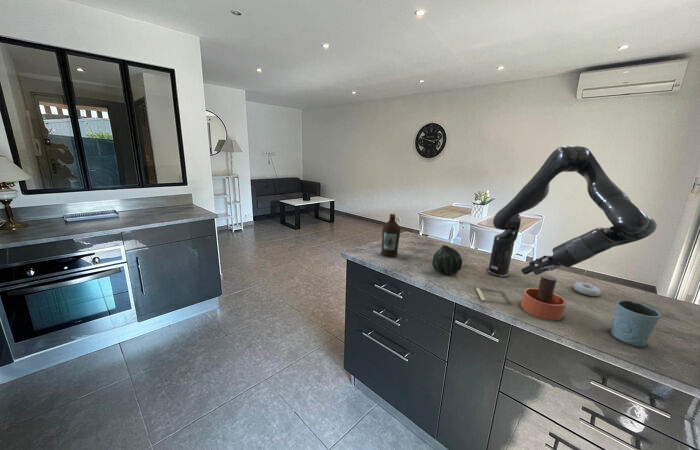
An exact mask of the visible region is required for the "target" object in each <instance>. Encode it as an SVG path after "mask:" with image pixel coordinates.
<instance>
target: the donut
mask: <svg viewBox="0 0 700 450" xmlns="http://www.w3.org/2000/svg"><path fill="white" fill-rule="evenodd" d="M572 288H573V290H574V291H575V292H577V293H579V294H582V295H584V296H589V297H598V296H600V295H602V290H601V288H600V287H598V286H597V285H594V284H591V283H588V282H584V281H576V282H574V283H573V284H572Z"/></svg>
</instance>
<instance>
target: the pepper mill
mask: <svg viewBox="0 0 700 450" xmlns="http://www.w3.org/2000/svg"><path fill="white" fill-rule="evenodd" d="M557 280H558V279H557V278H556V277H554V276H552V275H548V274H542V275H541V276H540V280H539V285H538V288H537V289H538V292H537V296H536V300H538V301H541V302H544V303H548V304H551V300H552V296H553V293H554V292H555V288H556V284H557Z"/></svg>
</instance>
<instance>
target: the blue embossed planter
mask: <svg viewBox="0 0 700 450" xmlns="http://www.w3.org/2000/svg"><path fill="white" fill-rule="evenodd" d="M661 316H662V313H661V312H660V311H659V310H657V309H655V308H653V307H652V306H649V305H647V304H644V303H641V302H637V301H634V300H629V299H619V300H617V301H616V305H615V309H614V317H613V318H612V325H611V327H610V333H611V335H612V336H614V337H615V338H616V339H618V340H620V341H622V342H624V343H627V344H629V345H630V346H633V347H637V348H643V347H645V346H646V345H647V343H648V341H649V339H650V337H651V334H652V333H653V331H654V329H655V327H656V325H657V323H658V322H659V320H660V318H661Z"/></svg>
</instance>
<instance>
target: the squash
mask: <svg viewBox="0 0 700 450" xmlns="http://www.w3.org/2000/svg"><path fill="white" fill-rule="evenodd" d="M431 262H432V264H431V265H432V267H433V269H434V270H435V271H437V272H439V274H441V275H443V274H445V275H446V276H449V275H450V276H451V275H452V274H457V273H458V272H460V271H461V269H462V266H463V258H462V256H461V254H460V252H458V250H457V249H455V248H453V247H451V246H448V245H445V244H443V245H441V246H440V247H439V249H437V251H435V253H434V254H433V257H432V260H431Z"/></svg>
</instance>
